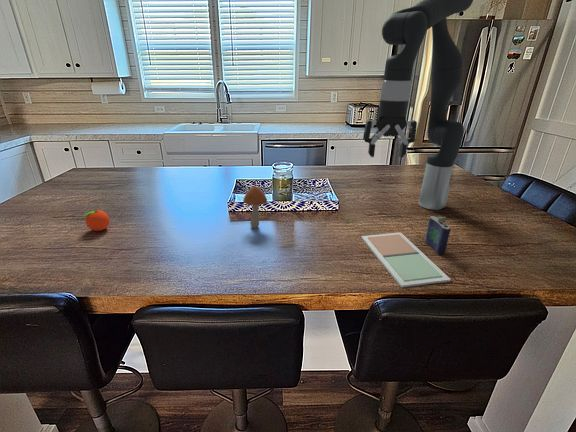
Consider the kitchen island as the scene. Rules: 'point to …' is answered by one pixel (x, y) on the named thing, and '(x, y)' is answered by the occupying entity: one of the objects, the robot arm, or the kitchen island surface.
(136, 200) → the kitchen island surface
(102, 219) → the clementine
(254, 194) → the mushroom
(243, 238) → the kitchen island surface
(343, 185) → the kitchen island surface
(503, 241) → the kitchen island surface
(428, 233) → the flask
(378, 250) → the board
